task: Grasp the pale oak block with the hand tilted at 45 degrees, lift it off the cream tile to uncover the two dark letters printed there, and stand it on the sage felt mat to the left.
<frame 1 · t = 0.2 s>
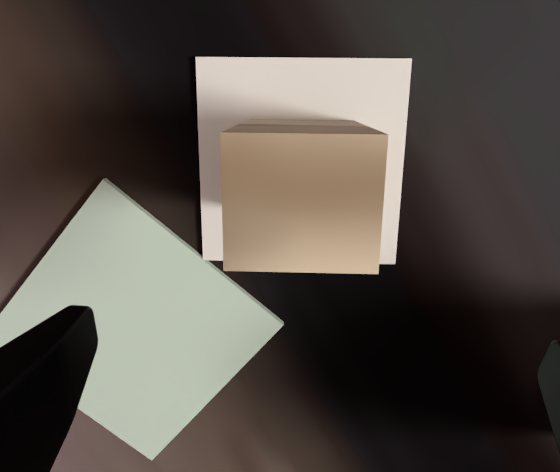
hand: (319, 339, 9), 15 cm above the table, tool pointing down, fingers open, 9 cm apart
felt mat: (131, 329, 27), on the table
code tile: (300, 165, 24), on the table
oak block: (300, 166, 23), resting on code tile
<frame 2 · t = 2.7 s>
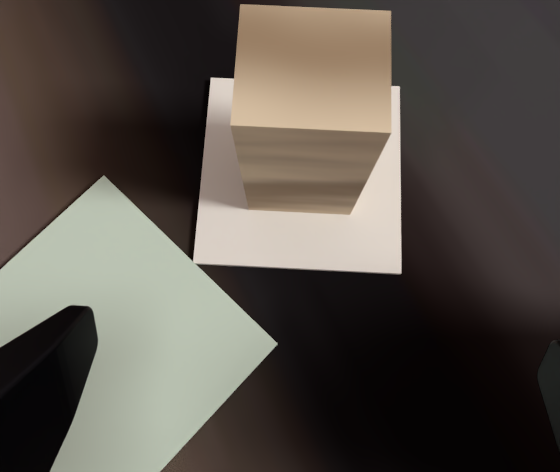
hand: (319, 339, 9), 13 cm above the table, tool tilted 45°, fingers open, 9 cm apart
felt mat: (96, 349, 22), on the table
code tile: (300, 172, 24), on the table
oak block: (301, 170, 24), resting on code tile
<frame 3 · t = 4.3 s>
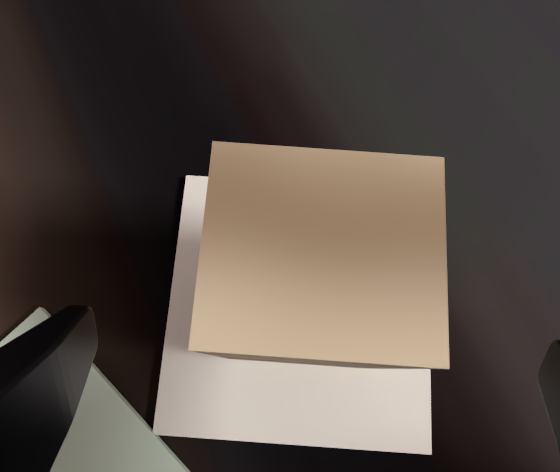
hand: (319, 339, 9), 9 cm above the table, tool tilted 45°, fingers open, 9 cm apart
code tile: (299, 305, 19), on the table
oak block: (299, 304, 18), resting on code tile
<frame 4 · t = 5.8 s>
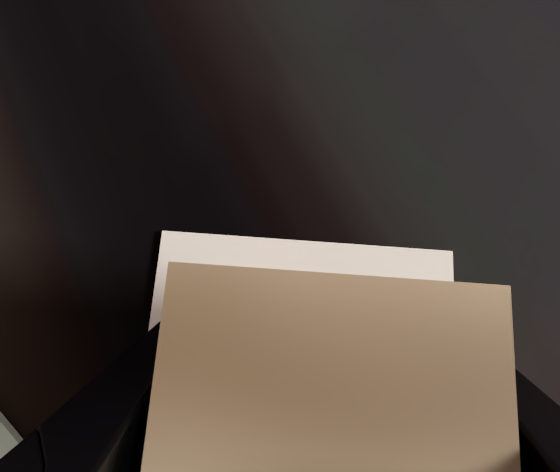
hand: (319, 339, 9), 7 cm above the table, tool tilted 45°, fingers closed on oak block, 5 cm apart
code tile: (298, 393, 15), on the table
oak block: (298, 393, 15), resting on code tile, touching gripper
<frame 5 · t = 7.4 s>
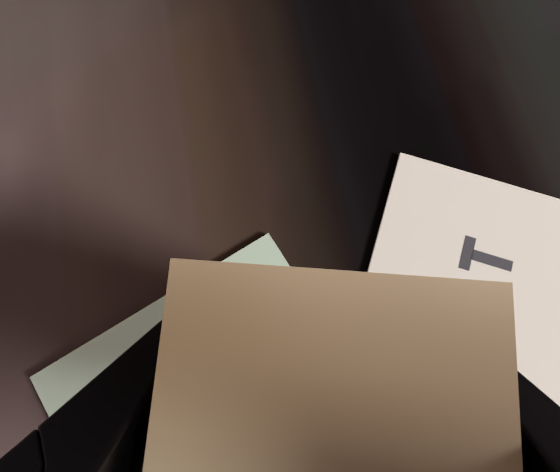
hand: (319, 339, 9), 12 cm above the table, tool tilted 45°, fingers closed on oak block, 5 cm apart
felt mat: (223, 422, 20), on the table
code tile: (477, 282, 22), on the table
oak block: (299, 392, 15), point 6 cm above the table, touching gripper
when the fingers open (8 cm above the table, at t = 9.1 s): oak block drops 1 cm, resting on felt mat.
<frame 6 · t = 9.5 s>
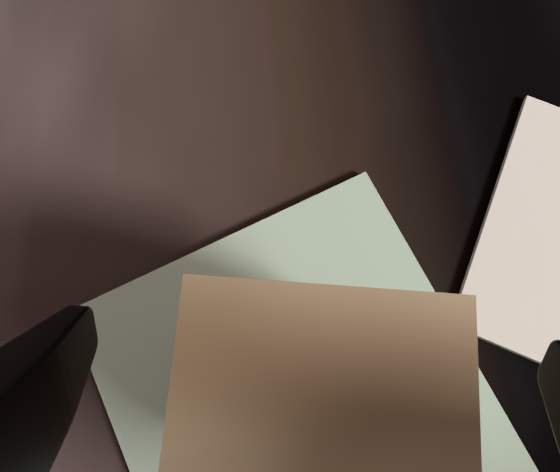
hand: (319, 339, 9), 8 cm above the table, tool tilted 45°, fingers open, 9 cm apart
felt mat: (296, 390, 17), on the table
oak block: (296, 390, 16), resting on felt mat
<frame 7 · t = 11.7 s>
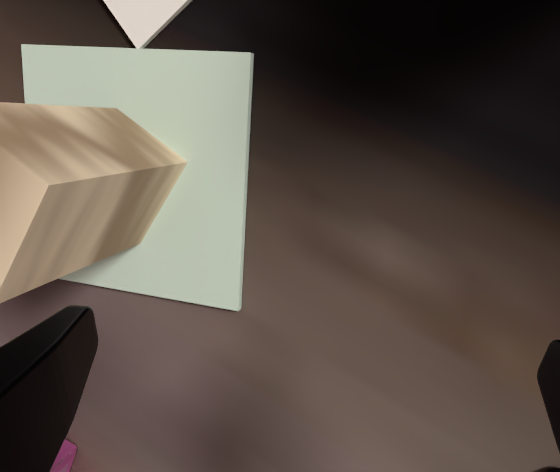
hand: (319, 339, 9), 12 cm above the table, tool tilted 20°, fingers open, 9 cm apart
felt mat: (134, 176, 24), on the table
oak block: (128, 177, 24), resting on felt mat
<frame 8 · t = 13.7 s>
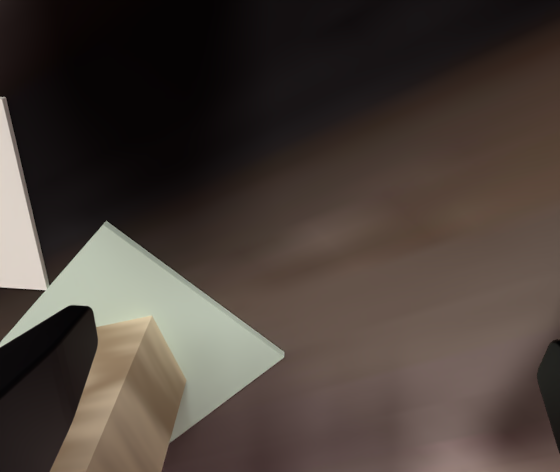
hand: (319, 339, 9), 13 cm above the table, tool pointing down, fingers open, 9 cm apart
felt mat: (137, 350, 27), on the table
oak block: (134, 356, 27), resting on felt mat
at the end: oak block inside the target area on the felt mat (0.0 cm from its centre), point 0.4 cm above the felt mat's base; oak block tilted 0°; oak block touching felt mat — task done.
